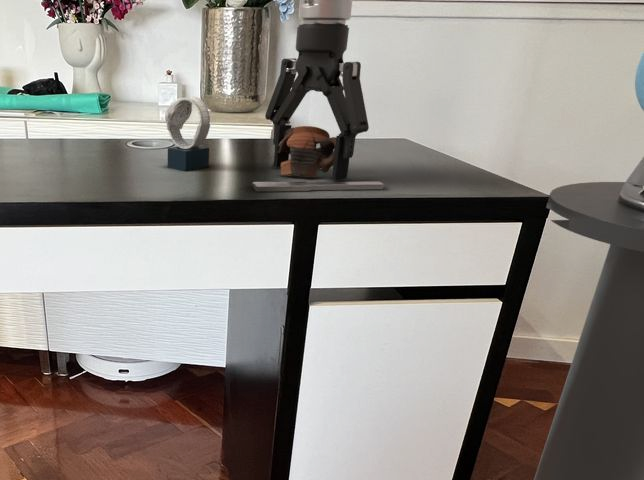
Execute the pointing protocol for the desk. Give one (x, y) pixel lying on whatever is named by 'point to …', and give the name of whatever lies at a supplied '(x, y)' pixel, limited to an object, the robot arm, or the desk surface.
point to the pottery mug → (307, 151)
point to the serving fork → (315, 186)
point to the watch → (184, 154)
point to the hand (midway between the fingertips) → (308, 172)
